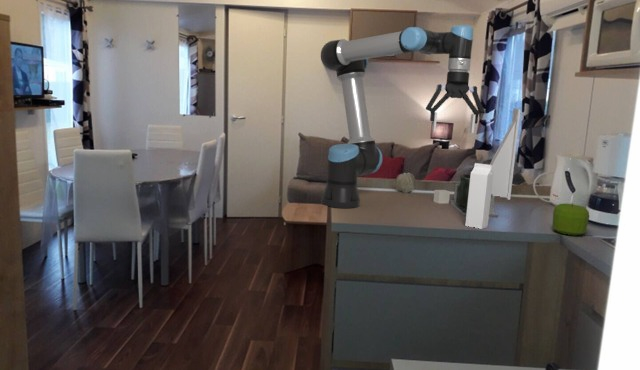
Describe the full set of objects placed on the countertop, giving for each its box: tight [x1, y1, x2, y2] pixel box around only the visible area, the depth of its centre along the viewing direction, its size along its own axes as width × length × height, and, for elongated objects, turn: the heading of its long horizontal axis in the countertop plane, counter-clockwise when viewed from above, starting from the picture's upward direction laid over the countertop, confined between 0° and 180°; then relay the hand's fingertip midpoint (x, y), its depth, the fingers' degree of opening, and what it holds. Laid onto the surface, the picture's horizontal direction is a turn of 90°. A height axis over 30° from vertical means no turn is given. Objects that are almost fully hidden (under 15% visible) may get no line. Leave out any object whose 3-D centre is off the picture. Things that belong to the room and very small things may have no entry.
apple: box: [551, 203, 590, 236], centre depth 181 cm, size 11×11×11 cm
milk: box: [465, 162, 493, 230], centre depth 183 cm, size 6×6×22 cm
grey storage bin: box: [448, 181, 499, 218], centre depth 211 cm, size 13×24×9 cm, turn 0°
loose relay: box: [433, 189, 451, 204], centre depth 223 cm, size 5×4×5 cm
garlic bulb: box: [393, 172, 416, 194], centre depth 241 cm, size 9×8×10 cm
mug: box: [458, 173, 471, 207], centre depth 211 cm, size 11×15×12 cm
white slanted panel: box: [489, 108, 522, 201], centre depth 244 cm, size 20×14×40 cm
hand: (452, 131), depth 190 cm, fingers open, 13 cm apart
